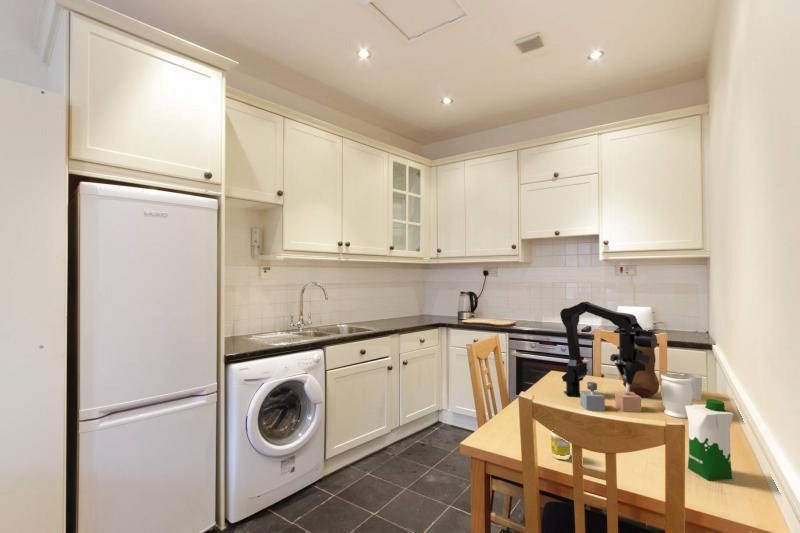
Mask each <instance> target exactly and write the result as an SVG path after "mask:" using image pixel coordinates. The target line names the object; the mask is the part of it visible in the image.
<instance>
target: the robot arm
mask: <svg viewBox="0 0 800 533" xmlns="http://www.w3.org/2000/svg"><path fill="white" fill-rule="evenodd" d="M585 313H588V314H592V315H594V316H596V317H599V318H602V319H604V320H608V321H609V322H611V323H612V324H613V325H614V326H616V329H615V330H613V333H614V334H618V343H619V344H618V346H617V349H618V352H619V353H612V354H611V355H610V358H609V359H610V361H611V362H614V365H615V367H616V368H617V369H616V370H618V372H619V375H620V377H621V378H622V380H623V374H625V376H626V379H627V382H628V384H629V385H631V384H632V382H633V379H634V376H635V374H636V372H638V371H646V365H645V364H644V363H642V362H645V363H647V364H649V362H650V359H651V357H650V356H648V355H645V354H643V351H641V350H638V349H637V348H635V344H636V345H637V346H639V347H645V348H653V349H654V350H655V349H656V348H657V346H658V337H657V335H656V334H655V331H654V330H645V329H643V327H642V326H641V325H640V323H639V322H638V319H637V318H636V315H634V314H632V313H626V312H620V311H619V312H618V311H615V310H614V311H613V310H611V309H608V308H605V307H602V306H601V305H597V304H595V303H591V302H589V301H581V302H580V303H578V304H575V305H573V306H570V307H567V308H563V309H561V311H560V313H559V316H560V320H561V323H562V325H563V326H564V327H565V332H566V340H567V341H566V342H567V348H568V349H567V350H568V357H569V360H568V361H567V362H568V363H567V367H566V373H565V374H564V375H562V376H561V379H562V382H563V383H565V388H566V389H565V390H564V391H563V393H564V394H565V395H566V396H567V397H580V398H581V392H580V391H581V386H580V382H582V381H583V380H584V378H585V377H586V376H587V372H589V370H588V366H587V364H588V363H587V362H584V361H583V359H582V357H581V356H582V354H581V348H580V340H579V332H578V327H579V326H578V325H579V323H580V316H582V315H584V314H585ZM639 360H640V361H642V362H639ZM615 361H616V362H615Z"/></svg>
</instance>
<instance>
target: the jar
mask: <svg viewBox="0 0 800 533" xmlns="http://www.w3.org/2000/svg"><path fill="white" fill-rule="evenodd" d="M660 378H661V382H660V395H661V400H662V404H663V407H664V410H663V413H664V414H665V415H667V416H669V417H673V418H680V419H688V416H687V412H686V407H685V406H687V405H692V402H693V400H692V397H693V391H692V385H691V382H692V378H691V377H688V376H685V375H684V374H679V373H668V372H667V373H666V372H665V373H661V374H660Z"/></svg>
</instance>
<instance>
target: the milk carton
mask: <svg viewBox="0 0 800 533" xmlns="http://www.w3.org/2000/svg"><path fill="white" fill-rule="evenodd" d="M685 407H686V412H687V416H688V418H687V420H688V461H687V469H689V470H690V471H692V472H694V473H695V474H696V475H698V476H699V477H701V478H703V479H705V480H707V481H709V482H711V481H727V480H733V470H732V460H731V427H732V422H733V418H734V413H733V412H731V411H729V410H726V409H725V402H724V401H722V400H718V399H711V398H708V399H706V401H705V404H693V405H692V404H691V405H687V406H685Z"/></svg>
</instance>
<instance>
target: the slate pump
mask: <svg viewBox="0 0 800 533" xmlns="http://www.w3.org/2000/svg"><path fill="white" fill-rule="evenodd" d="M587 390H588V391H591V394H594V391H598V383H597V382H594V381H587Z"/></svg>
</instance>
